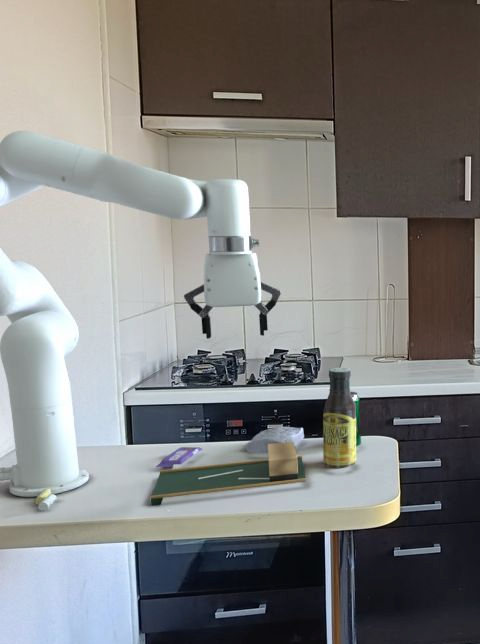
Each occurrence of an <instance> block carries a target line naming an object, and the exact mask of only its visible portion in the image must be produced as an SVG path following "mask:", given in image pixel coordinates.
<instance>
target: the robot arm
mask: <svg viewBox="0 0 480 644" xmlns="http://www.w3.org/2000/svg"><path fill="white" fill-rule="evenodd" d="M44 187H48V188H52V189H55V190H60V191H63V192H67V193H72V194H75V195H78V196H82V197H85V198H89V199H93V200H96V201H100V202H103V203H105V202H106V203H112V204H117V205H120V206H123V207H128V208H131V209H135V210H138V211H142V212H146V213H150V214H154V215H157V216H161V217H164V218H168V219H171V220H172V219H173V220H180V221H181V220H194V219H199V218H206V223H207V236H208V237H207V239H208V240H207V241H208V252H209V253H205V255H204V264H203V284H201V285H199V286H197V287H195V288H193V289H191V290H190V291H187V292H186V293H184V295H183V298H184V300H185V302H186V303H187V305H188V306H189V308H190V310H192V311H193V312H194V313H195V314H197V316H199V317H200V318H201V329H202V330H201V333H202V335H205V336H206V339H207V340H209V339H211V338H212V323H211V316H210V315H209V314H210V312H211V310H212V309H213V308H231V307H250V306H254V307H255V308H256V309H257V310H258V312H259V314H258V320H259V336H263V337H264V336H265V332H266V331H269V328H268V315H269V312H271V310H272V309H274V307H275V306H276V305H277V302H279V301H278V300H279V299H280V297H281V294H282V292H281V290H280V289H278V288H275V287H273V286H271V285H269V284H266V283H264V282H262V281H261V273H260V266H259V261H258V256H257V253H256V252H253V250H252V249H254V248H256V247H260V239H255V238H253V237H252V236H251V234H252V233H251V218H250V217H251V216H250V215H251V214H250V200H249V199H250V198H249V187H248V184H247V183H246V181H244V180H242V179H238V178H215V179H209V180H197V179H191V178H188V177H184V176H180V175H176V174H172V173H169V172H165V171H161V170H158V169H155V168H151V167H147V166H143V165H140V164H137V163H133V162H130V161H127V160H124V159H121V158H119V157H118V156H116V155H114V154H111V153H108V152H105V151H101V150H98V149H94V148H91V147H88V146H83V145H80V144H76V143H73V142H70V141H65V140H62V139H59V138H55V137H52V136H48V135H45V134H42V133H37V132H34V131H30V130H29V131H28V130H17V131H12V132H11V133H9V134H7V135H5V136H4V137H3V139H2V140H1V141H0V207H3V206H5V205H8V204H9V203H10V204H11V202H13V201H16V200H18V199H20V198H22V197H24V196H27V195H29V194H31V193H34V192H36V191H38V190H40V189H41V188H44ZM262 291H263V292H266V293H269V294H270V295H271V298H270V299H269V301H268V302H266V304H264V303H263V302H262ZM201 294H203V295H204V302H205V305H204V306H203V307H202V306H200V305H199V304H198V303H197V301H196V300H195V297H197V296H199V295H201ZM5 316H6V317H7V319H8V320H9V321H10V325H8V326H7V327H6V329H5V330H4V332H3V333H2V335H1V338H0V359H1V364H2V366H3V370H4V373H5V378H6V383H7V389H8V395H9V396H8V397H9V404H10V410H11V421H12V429H13V439H14V448H15V456H16V464H12V465H11V466H10V467H9V466H8V467H0V482H1V481H2V482H3V481H10V484H9V486H8V487H9V492H10V494H11V495H14V496H17V497H23V498H25V497H26V498H34V497H35V498H37V497H38V496H39V494H40V493H41V492H42V491H43V490H44V489H49V490H51V494H54V495H56V494H61V493H66V492H69V491H73V490H74V489H77V488H80V487H81V486H83V485H84V484H86V483H87V482H88V481H89V479H90V474H89V471H88V470H86V469H84V468H80V467H79V457H78V447H77V436H76V427H75V417H74V407H73V398H72V389H71V382H70V378H69V373H68V369H67V366H66V361H65V360H66V359H65V357H66V356H67V355H69V354H70V353H72V352H73V350H75V348H76V347H77V345H78V343H79V340H80V331H79V326H78V324H77V322H76V320H75V318H74V317H73V315H72V314H71V312H70V311H69V309H68V308H67V306H66V305H65V304H64V302H63V301H62V299H61V298H60V296H59V295H58V294H57V292H56V291H55V290H54V288H53V287H52V284H50V282H49V281H48V280H47V278H46V277H45V276H44V274H43V273H42V272H40V271H39V269H37V267H35V266H34V265H32V264H30V263H28V262H26V261H22V260H17V259H10V258H9V257H8V255H7V254H6V253H5V252H4V251H3V249H2V248H1V247H0V317H5Z"/></svg>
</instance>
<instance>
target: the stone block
mask: <svg viewBox="0 0 480 644" xmlns="http://www.w3.org/2000/svg"><path fill="white" fill-rule="evenodd" d="M303 439H305V434H304V428H303V427H293V426H291V427H290V426H275V427H273V428H268V429H265V430H261V431H259V433H257V434H256V435H254V436H253V437H252V439H251V440H250V441H249V442H246V445H245V449H246V450H245V451H246V452H247V453H253V454H254V453H255V454H261V453H262V454H266V453H267V454H268V444H275V443H286V442H294V443H295V447H296V446H297V445H298V444H299V443H300V442H301V441H302V440H303Z"/></svg>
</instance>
